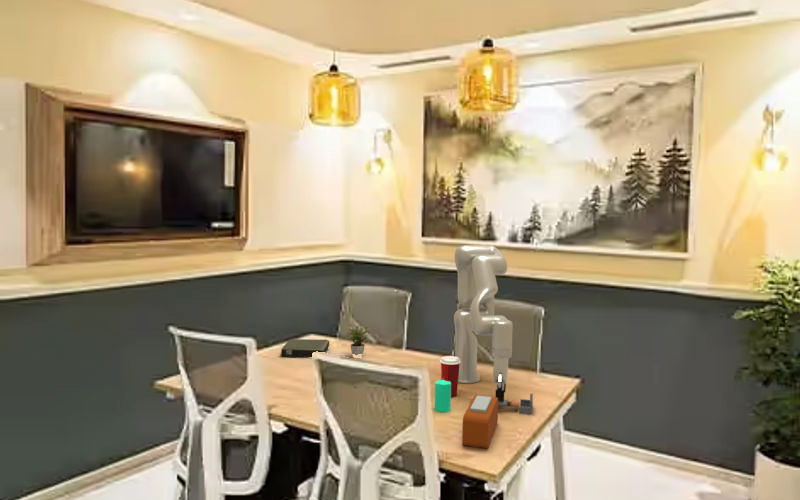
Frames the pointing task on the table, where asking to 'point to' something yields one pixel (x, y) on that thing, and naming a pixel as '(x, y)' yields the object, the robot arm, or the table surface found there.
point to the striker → (502, 402)
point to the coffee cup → (450, 372)
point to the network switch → (303, 347)
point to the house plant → (357, 340)
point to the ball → (514, 403)
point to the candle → (442, 396)
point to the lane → (508, 408)
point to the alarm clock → (480, 421)
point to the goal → (526, 405)
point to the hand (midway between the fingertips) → (500, 396)
